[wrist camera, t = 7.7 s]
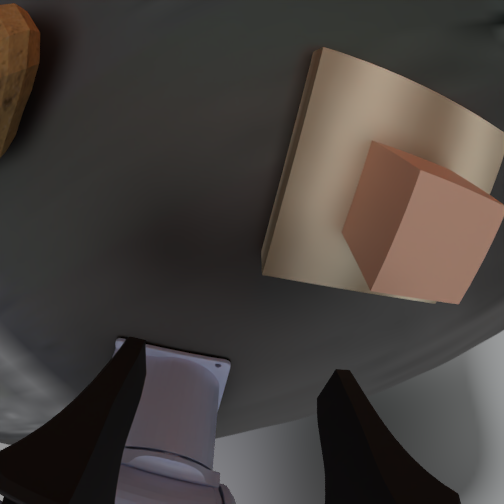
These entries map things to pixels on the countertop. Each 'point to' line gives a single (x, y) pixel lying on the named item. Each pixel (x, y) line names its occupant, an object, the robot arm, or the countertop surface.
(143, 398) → the robot arm
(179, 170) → the countertop surface
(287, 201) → the pedestal
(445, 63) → the countertop surface
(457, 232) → the cube
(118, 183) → the countertop surface
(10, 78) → the potato
